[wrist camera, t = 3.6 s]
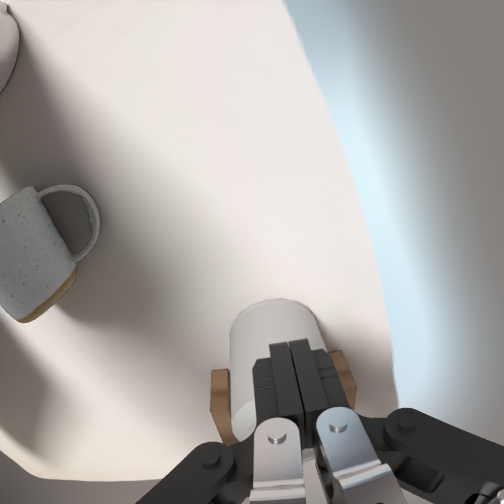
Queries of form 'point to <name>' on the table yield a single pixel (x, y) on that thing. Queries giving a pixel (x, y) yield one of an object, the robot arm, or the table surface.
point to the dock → (222, 396)
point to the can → (264, 353)
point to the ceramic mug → (37, 253)
